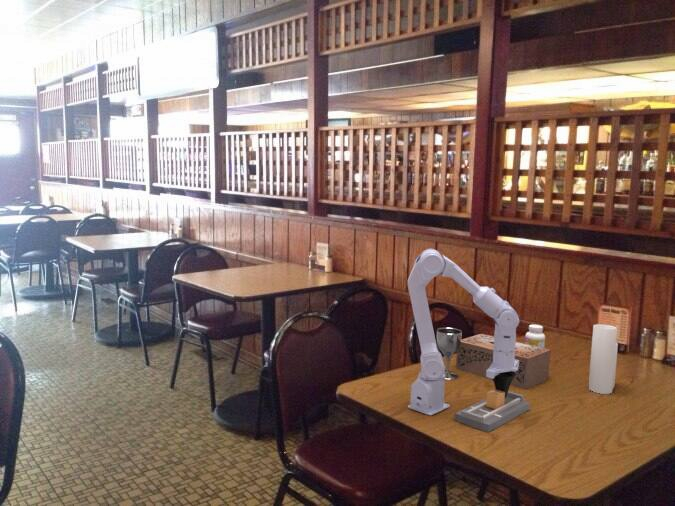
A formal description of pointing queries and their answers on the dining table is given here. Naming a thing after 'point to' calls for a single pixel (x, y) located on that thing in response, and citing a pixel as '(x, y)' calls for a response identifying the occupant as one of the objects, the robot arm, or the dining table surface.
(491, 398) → the fader tab
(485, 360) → the tissue box cover
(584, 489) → the dining table surface
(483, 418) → the grey flat railed block
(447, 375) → the wine glass
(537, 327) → the supplement bottle
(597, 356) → the candle
